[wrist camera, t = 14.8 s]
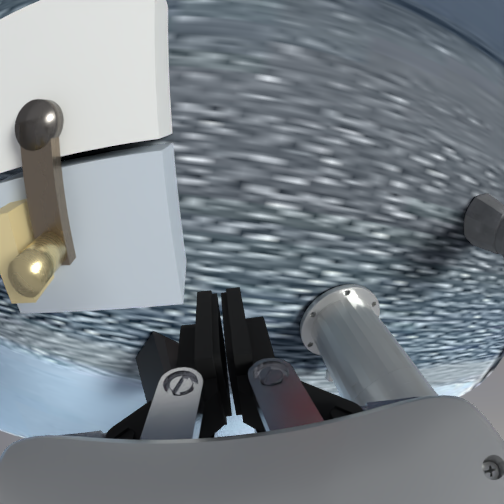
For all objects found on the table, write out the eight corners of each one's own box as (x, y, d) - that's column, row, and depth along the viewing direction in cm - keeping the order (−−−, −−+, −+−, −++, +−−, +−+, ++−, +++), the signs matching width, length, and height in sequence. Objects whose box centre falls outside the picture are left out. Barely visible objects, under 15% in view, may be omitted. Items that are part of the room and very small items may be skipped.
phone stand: (136, 356, 41) (124, 420, 30) (153, 330, 40) (143, 397, 29) (188, 379, 44) (189, 442, 34) (208, 356, 43) (213, 422, 32)
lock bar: (23, 105, 17) (-24, 107, 11) (63, 94, 18) (20, 91, 12) (43, 259, 23) (10, 297, 17) (81, 256, 23) (52, 297, 17)
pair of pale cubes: (186, 261, 36) (181, 334, 24) (49, 274, 34) (3, 338, 22) (167, 6, 24) (150, -52, 12) (18, 48, 22) (-50, 32, 9)
